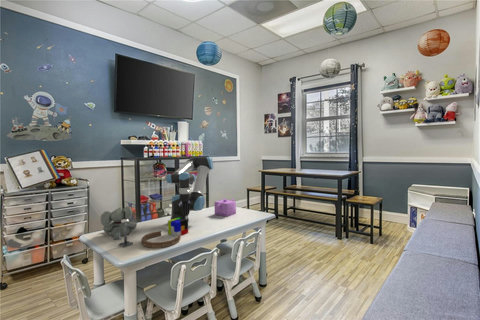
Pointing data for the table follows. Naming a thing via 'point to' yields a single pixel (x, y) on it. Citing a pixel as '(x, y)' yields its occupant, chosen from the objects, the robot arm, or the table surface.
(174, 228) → the puzzle toy
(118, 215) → the plush elephant
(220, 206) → the purple lidded box
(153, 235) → the rim
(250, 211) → the table surface
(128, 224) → the dial gauge stand
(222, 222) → the table surface
